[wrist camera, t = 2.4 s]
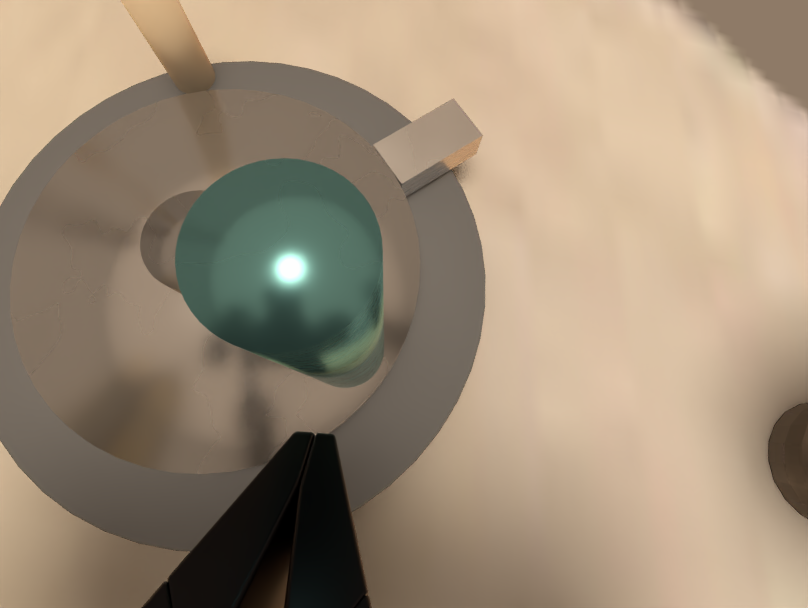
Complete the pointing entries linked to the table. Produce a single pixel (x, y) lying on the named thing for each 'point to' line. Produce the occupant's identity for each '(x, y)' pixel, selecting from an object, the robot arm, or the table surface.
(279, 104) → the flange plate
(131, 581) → the table surface
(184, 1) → the table surface
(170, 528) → the turntable base
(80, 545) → the table surface
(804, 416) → the beverage cup
